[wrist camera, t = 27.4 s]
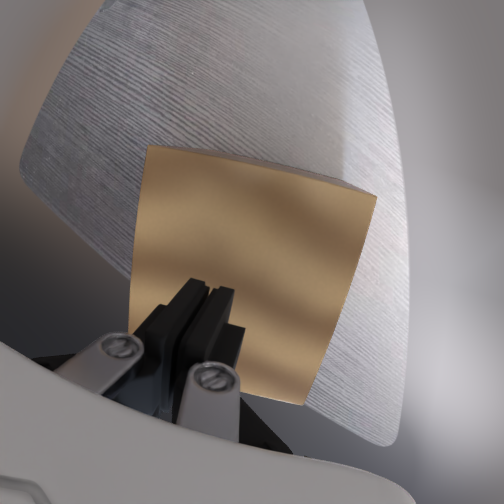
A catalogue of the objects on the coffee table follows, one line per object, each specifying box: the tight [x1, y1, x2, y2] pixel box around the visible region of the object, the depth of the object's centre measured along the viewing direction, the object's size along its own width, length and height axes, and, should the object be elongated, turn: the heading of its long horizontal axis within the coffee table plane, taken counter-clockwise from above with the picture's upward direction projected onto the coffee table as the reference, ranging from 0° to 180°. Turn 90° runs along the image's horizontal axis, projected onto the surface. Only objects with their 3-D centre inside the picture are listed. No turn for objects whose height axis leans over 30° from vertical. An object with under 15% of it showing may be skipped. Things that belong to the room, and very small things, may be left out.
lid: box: [128, 145, 377, 405], centre depth 19 cm, size 14×13×1 cm
